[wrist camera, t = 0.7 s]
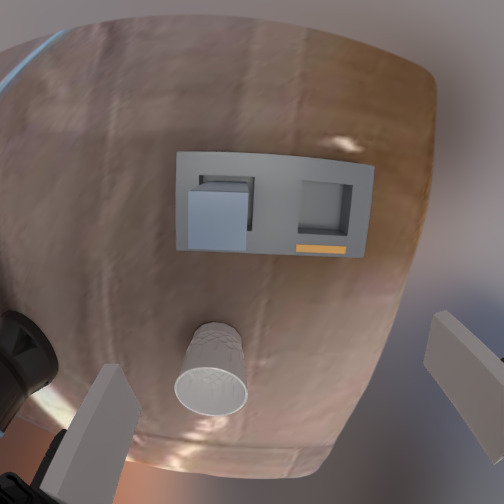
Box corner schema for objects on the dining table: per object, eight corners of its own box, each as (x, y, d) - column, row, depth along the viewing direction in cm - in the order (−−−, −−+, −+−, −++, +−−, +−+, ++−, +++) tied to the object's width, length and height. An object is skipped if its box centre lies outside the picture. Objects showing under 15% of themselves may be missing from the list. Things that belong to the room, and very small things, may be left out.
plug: (208, 216, 31) (188, 248, 20) (209, 180, 30) (188, 191, 19) (245, 218, 32) (245, 251, 20) (246, 181, 30) (248, 193, 19)
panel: (183, 240, 33) (175, 250, 29) (184, 152, 30) (176, 151, 26) (351, 247, 34) (363, 258, 30) (360, 165, 31) (375, 166, 27)
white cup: (196, 309, 36) (183, 357, 26) (255, 328, 37) (258, 379, 27) (182, 354, 38) (168, 405, 28) (235, 370, 39) (234, 422, 30)
